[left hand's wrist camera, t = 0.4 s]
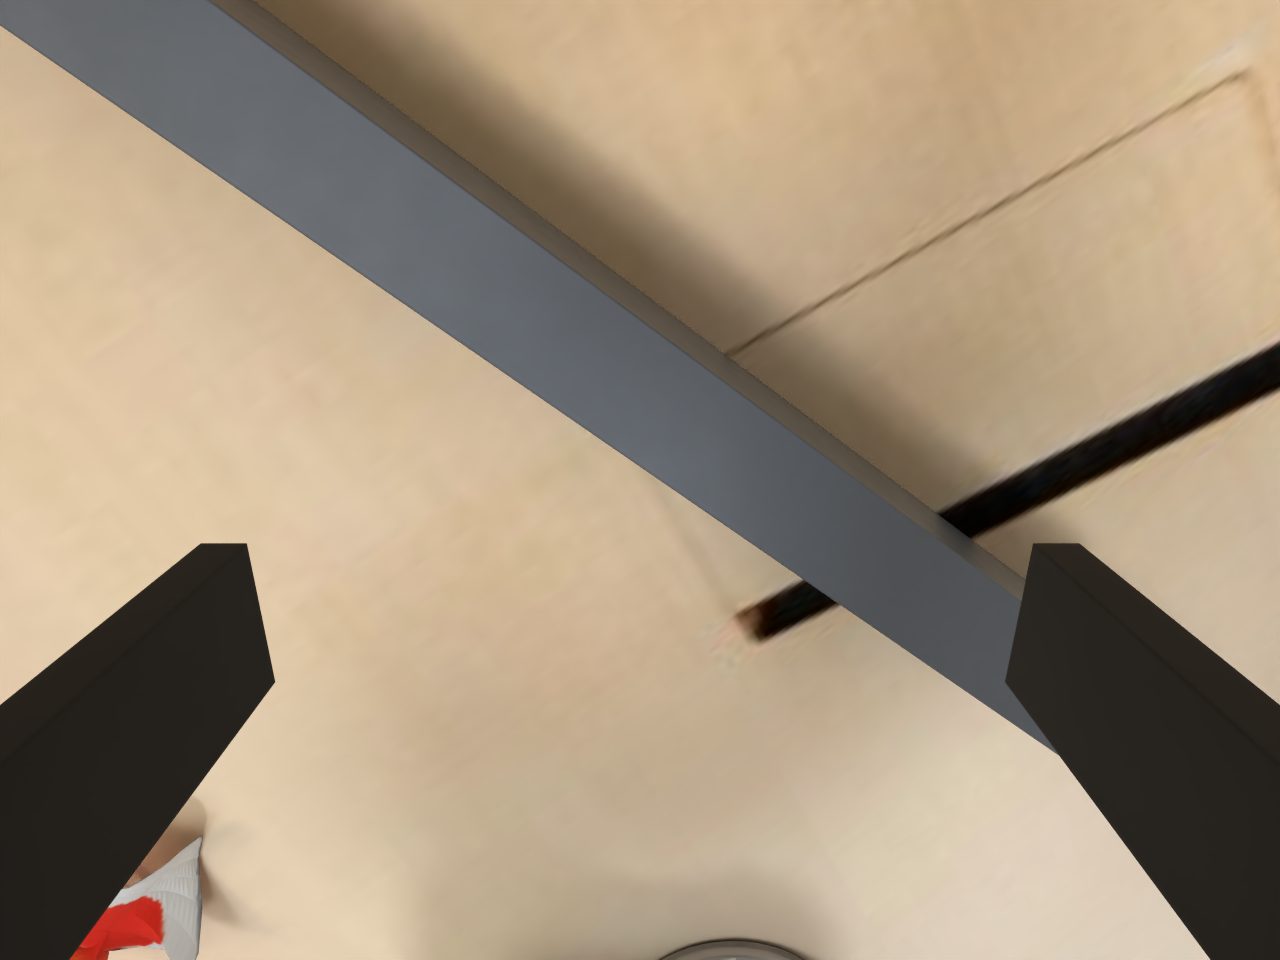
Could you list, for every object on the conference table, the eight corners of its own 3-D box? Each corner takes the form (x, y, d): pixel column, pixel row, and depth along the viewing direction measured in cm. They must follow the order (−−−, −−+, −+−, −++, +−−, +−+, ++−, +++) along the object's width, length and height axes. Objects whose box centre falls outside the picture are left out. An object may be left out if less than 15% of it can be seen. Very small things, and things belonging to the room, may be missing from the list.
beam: (1056, 603, 43) (1149, 696, 35) (994, 662, 44) (1070, 764, 36) (-643, -673, 25) (-1216, -1057, 18) (-658, -509, 27) (-1194, -797, 19)
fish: (-102, 910, 45) (-145, 1083, 37) (155, 747, 49) (162, 875, 41) (38, 970, 52) (25, 1127, 44) (254, 823, 56) (276, 944, 48)
